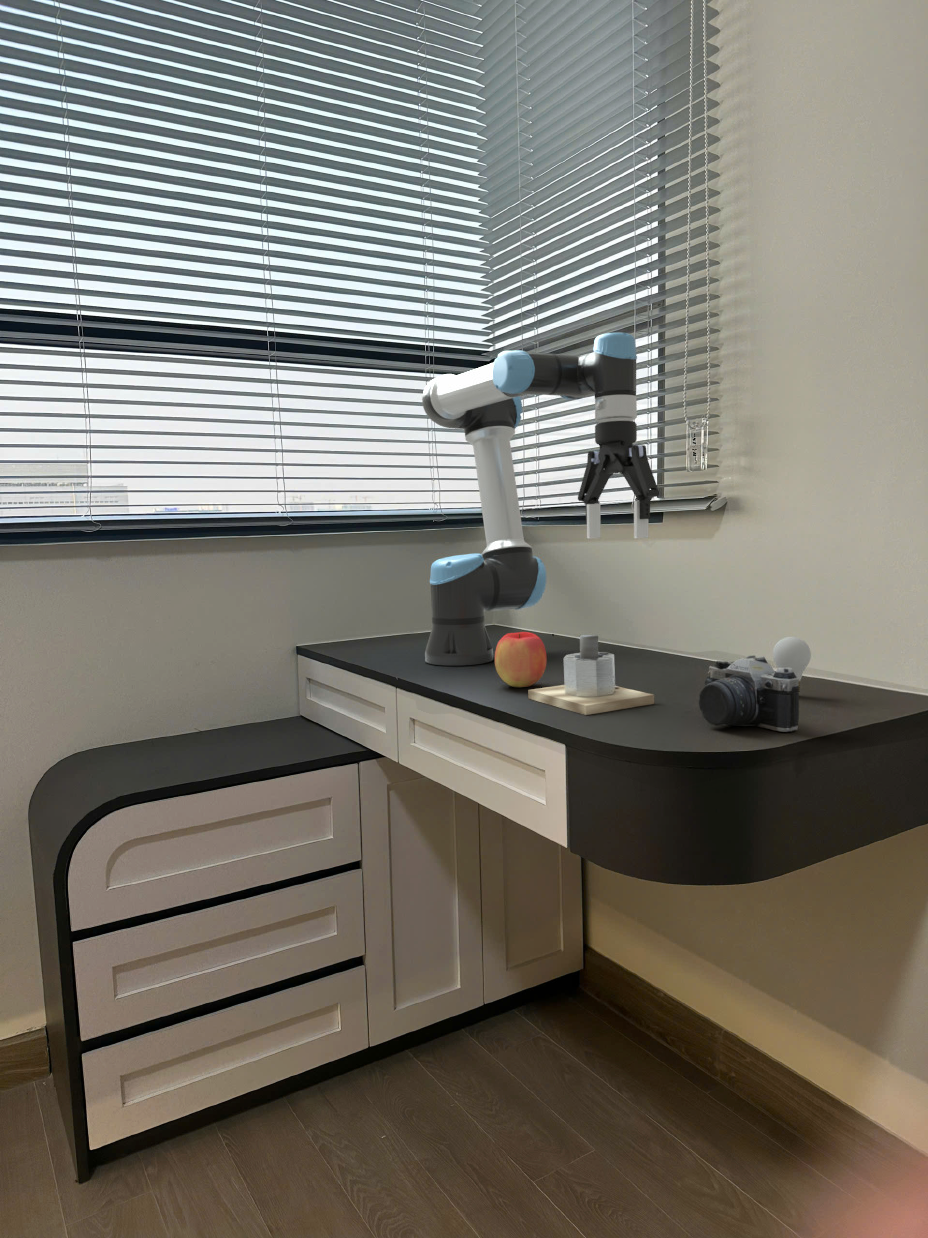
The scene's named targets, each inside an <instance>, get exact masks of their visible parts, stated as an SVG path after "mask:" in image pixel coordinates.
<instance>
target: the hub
mask: <svg viewBox="0 0 928 1238" xmlns="http://www.w3.org/2000/svg"><path fill="white" fill-rule="evenodd" d="M615 671H616V670H615V654H614V653H609V652H608V651H607V652H606V651H598V658H594V659H580V652H575V653H570V654H566V655H565V656H564V657H563V676H564V677H563V679H564V680H563V681H564V685H565V694H568V695H572V696H576V697H599V696H605V695H610V694H613V693H614V691H615V686H616V675H615V674H616V673H615Z"/></svg>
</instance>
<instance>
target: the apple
mask: <svg viewBox="0 0 928 1238" xmlns="http://www.w3.org/2000/svg"><path fill="white" fill-rule="evenodd" d="M547 659H548V658H547V651H546V646H545V643H544V642H543V640H542V638H541V637H539V636H538V635H537V634H536V633H533V632H527V631H520V632H518V631H517V632H508V633H506V634H505V635H503V636H502V637H501V638H500V640H498V642H497V644H496V647H495V651H494V666H495V667H494V668H495V670H496V672H497V674H498V677H500V678H501V680H502V681H503V682H504V683H506V684H507V685H508V686H510V687H513V688H526V687H527V688H528V687H531V686H532V685H534V684H535V683H537V682H539V680H541V678H542V677H543V675H544V673H545V670H546V668H547V662H548V660H547Z"/></svg>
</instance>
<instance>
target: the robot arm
mask: <svg viewBox="0 0 928 1238" xmlns="http://www.w3.org/2000/svg"><path fill="white" fill-rule="evenodd" d="M592 350H593V352H590V353H586V354H582V355H573V354H572V355H571V354H562V353H545V352H534V351H525V350H521V349H517V350H503V351H501V352H500V353H498V354H497V357H496V358H495V359H494V361H493V362H491V363H489V364H486V365H483V366H480V367H478V368H475V369H472V370H469V371H466V372H463V373H460V374H457V375H456V374H452V373H446V374H442V375H440V376H437V377H435V378H433V379H431V380H430V381H429V382H428V383H427V384H426V385H425V387H424V389H423V393H422V397H421V398H422V399H421V400H422V408H423V411H424V412H425V414H426V416H427V417H428V418H429V419H430V420H431V421H432V422H433V423H435V424H437V425H438V426H441V427H442V428H447V429H457V430H458V429H459V430H463V431H464V436H465V441H466V442H467V443H468V444H470V445H471V446H472V447H473V454H474V460H475V462H474V463H475V470H476V475H477V476H476V477H477V485H478V489H479V492H478V493H479V498H480V504H481V505H480V506H481V513H482V520H483V527H484V533H485V542H486V547H485V548H484V550H483V551H482V552H481V553H468V554H467V553H466V554H465V553H464V554H457V555H452V556H445V557H442V558H439V559H437V560H435V561H433V562H432V564H431V567H430V576H429V577H430V578H429V584H430V602H431V603H430V604H431V629H430V630H431V631H430V634H429V638H428V640H427V644H426V647H425V652H424V657H425V658H424V660H425V663H427V664H430V665H435V666H436V665H437V666H471V665H481V664H486V663H489V662H492V661H493V660H494V650H493V646H492V642H491V640H490V637H489V634H488V632H487V628H486V626H485V612H493V611H504V610H521V609H525V608H527V609H528V608H532V607H534V606H535V605H537V604H538V603H539V602H540V601H541V599H542V597H543V595H544V593H545V589H546V587H547V585H546V584H547V571H546V567H545V564H544V563H543V560H541V558H540V557H537V556H534V555H533V554H534V553H533V547H532V545H530V544H529V543H527V542H526V540H525V538H524V532H523V525H522V523H523V522H522V518H521V517H522V516H521V510H520V502H519V497H518V489H517V488H518V487H517V482H516V475H515V469H514V460H513V454H512V453H513V452H512V447H511V440H512V438H513V437H514V435H515V434H516V430H515V429H517V427H518V426H519V425H520V423H521V420H522V416H521V414H522V413H523V404H522V403H523V402H522V398H521V397H522V396H527V395H543V396H544V395H545V396H560V397H561V398H562V399H565V400H575V399H576V400H580V399H583V398H586V397H589V396H593V395H594V403H595V404H594V420H595V421H596V422H597V423H596V424H595V426H594V442H595V444H597V445H598V446H599V450H598V451H595V450H594V451H592V450H590V451H588V452H587V462H586V463H587V464H586V466H585V470H584V474H583V477H582V481H581V485H580V487H579V491H578V494H577V500H578V501H579V502H582V503H583V504H584V505H585V521H586V538H587V539H602V538H601V535H602V533H601V532H602V531H601V529H602V528H601V526H602V525H601V524H602V522H601V502H600V500H599V499H600V497H601V495H602V493H603V492H604V489H605V487H606V485H607V483H608V482H609V480H610V478H611V477H613V475H614V474H615V475H616V474H621V475H622V476H623V477H624V479H625V481H626V482H627V484H628V486H629V488H630V489H631V491H632V492H633V494H634V496H635V498H634V501H633V539H649V520H650V518H651V501H652V500H653V498H658V496H659V495H660V490H659V488H658V485H657V482H656V480H655V477H654V474H653V471H652V468H651V465H650V462H649V460H648V456H647V447H646V445H643V444H642V445H641V444H634V443H636V442H637V439H638V438H637V437H638V435H637V432H638V431H637V429H638V428H637V423H636V422H635V421H634V420H636V419H637V418H638V413H637V412H638V409H637V406H638V405H637V359H638V356H637V345H636V338H635V336H634V335H633V334H631V333H628V332H606V333H602V334H600V335H597V336H596V337H595V339H594V343H593V348H592Z"/></svg>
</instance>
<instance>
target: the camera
mask: <svg viewBox="0 0 928 1238" xmlns="http://www.w3.org/2000/svg"><path fill="white" fill-rule="evenodd" d="M766 659H767V658H766V657H765V656H757V657H756V655H747V656H746V658H744V657H743V658H741V657H740V658H737V659H736V660H735V661H724V660H716V663H715V664H712V665H710V666H709V667H708V669H709V670H708V672H707V677H706V678H705V680H704V684H705V685H704V687H703V688H702V689H701V691H700V692H699V697H698V698H699V699H698V705H699V707H698V708H699V710H700V712H701V713H702V717H703V718H704V719H705V720H706V721H707V723H709V724H711V725H713V726H716V727H717V726H722V725H727V726H732V727H737V726H738V727H739V726H740V727H747V726H748V727H757V728H760V729H767V730H771V731H775V732H780V733H781V732H783V733H788V732H793V731H798V728H799V716H800V704H799V703H800V692H799V691H800V690H799V689H800V688H799V687H800V686H799V678H797V677H796V675H795V674H794V671H793V669H792V668H778V667H777V669H776V670H775V669H774V668H773V667H772V666H771V664H770V663H769V662H768V661H767V660H766Z"/></svg>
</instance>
